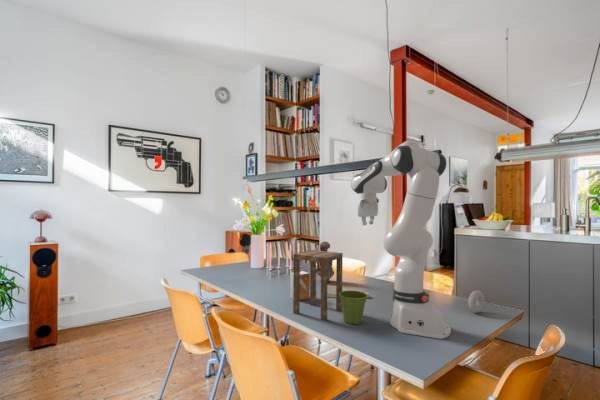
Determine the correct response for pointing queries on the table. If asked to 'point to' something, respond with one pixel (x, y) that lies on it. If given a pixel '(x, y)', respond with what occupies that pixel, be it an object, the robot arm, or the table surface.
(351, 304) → the plant pot
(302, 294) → the small box
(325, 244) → the clay figurine
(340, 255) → the stool
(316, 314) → the table surface
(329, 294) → the slat
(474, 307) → the donut
